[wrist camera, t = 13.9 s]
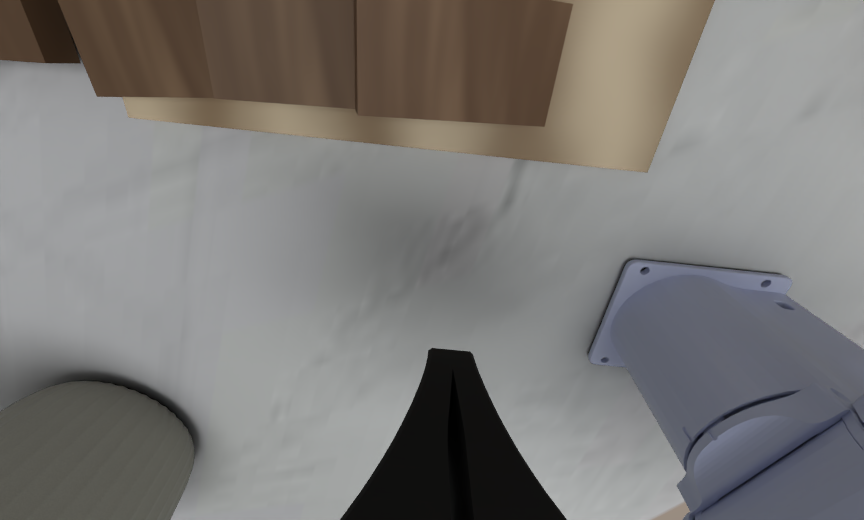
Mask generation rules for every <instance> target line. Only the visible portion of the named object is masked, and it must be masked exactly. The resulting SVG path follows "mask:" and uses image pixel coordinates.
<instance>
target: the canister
mask: <svg viewBox="0 0 864 520" xmlns="http://www.w3.org/2000/svg"><path fill="white" fill-rule="evenodd" d="M193 464H194V444H193V442H192V437H191V435H190V434H189V433H188V429H187V428H186V427H185V426H184V425H183V423H182V421H181V420H180V419H178V418H177V417H176V416H175V414H174V413H172V412H170V411H169V410H168V409H167V407H165V406H162V405H161V404H159V403H158V402H157V401H156V400H152V399H150V398H149V397H148V396H147V395H143V394H140V393H138V392H137V391H135V390H130V389H127V388H126V387H124V386H117V385H114V384H112V383H103V382H100V381H93V382H91V381H78V382H75V381H73V382H67V383H62V384H58V385H54V386H50V387H48V388H45V389H42V390H40V391H38V392H36V393H34V394H31V395H29V396H27V397H25V398H23V399H21V400H19V401H17V402H16V403H14V404H12V405H10V406H9V407H7V408H5V409H4V410H2V411H1V412H0V520H170V519H171V517H172V515H173V513H174V511H175V509H176V507H177V505H178V503H179V500H180V498H181V496H182V494H183V492H184V490H185V487H186V485H187V483H188V480H189V477H190V474H191V471H192V467H193Z"/></svg>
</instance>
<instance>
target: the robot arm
mask: <svg viewBox="0 0 864 520" xmlns="http://www.w3.org/2000/svg"><path fill="white" fill-rule="evenodd" d="M643 267H646V269H645V270H643V271H640V270H641V269H642V268H643ZM763 281H764V282H763ZM762 282H763V283H762ZM791 285H792V280H791V279H790V278H789V277H787V276H785V275H779V274H770V273H760V272H751V271H741V270H732V269H722V268H713V267H704V266H694V265H685V264H675V263H666V262H656V261H647V260H637V259H636V260H631V261H629V262H628V263H627V264H626V265H625V267H624V270H623V272H622V275H621V277H620V279H619V282H618V284H617V287H616V289H615V291H614V294H613V296H612V299H611V301H610V303H609V306H608V308H607V311H606V313H605V316H604V318H603V320H602V323H601V325H600V328H599V330H598V332H597V335H596V337H595V340H594V342H593V344H592V347H591V349H590V352H589V354H588V358H589V360H590V362H591V363H592V364H598V365H608V366H617V367H626V368H627V370H628V371H629V373H630V375H631V377H632V378H633V380H634V382H635V384H636V385H637V387H638V389H639V391H640V392H641V394H642V396H643V398H644V399H645V401H646V403H647V405H648V406H649V408H650V410H651V412H652V413H653V415H654V417H655V419H656V420H657V422H658V424H659V426H660V427H661V429H662V431H663V433H664V434H665V436H666V438H667V440H668V441H669V443H670V445H671V447H672V448H673V450H674V452H675V454H676V455H677V457H678V459H679V461H680V462H681V464H682V466H683V468H684V469H685V471H686V475H685V477H684V478H683V479H682V480H681V481H680V482H679V483H678V484H677V487H678V489H679V491H680V493H681V495H682V497H683V498H684V500H685V502H686V504H687V506H688V508H689V510H690V512H689V513H687V514H686V516H685V517H684V518H683V520H864V349H863V348H861V347H860V346H858V345H857V344H855V343H854V342H853V341H851V340H850V339H848V338H847V337H845V336H844V335H842V334H841V333H840V332H838V331H837V330H835V329H834V328H832V327H831V326H830V325H828V324H827V323H825V322H824V321H822V320H821V319H820V318H818V317H817V316H815V315H814V314H812V313H811V312H809V311H808V310H807V309H805V308H804V307H802V306H801V305H799V304H798V303H797V302H795V301H794V300H792V299H791V298H789V297H788V296H786V295H785V294H786V293H787V291H788V290H789V288H790V287H791ZM603 357H605V358H603ZM602 358H603V359H602ZM340 520H567V519H566V518H565V517H564V515H563V514H562V513H561V511H560V510H559V509H558V507H557V506H556V505H555V504H554V502H553V501H552V500H551V498H550V497H549V496H548V494H547V493H546V492H545V490H544V489H543V487H542V486H541V484H540V483H539V481H538V480H537V479H536V477H535V476H534V474H533V473H532V471H531V470H530V468H529V467H528V465H527V463H526V462H525V460H524V459H523V457H522V456H521V454H520V452H519V451H518V449H517V448H516V446H515V444H514V442H513V441H512V439H511V437H510V435H509V434H508V432H507V430H506V428H505V427H504V425H503V423H502V421H501V419H500V417H499V415H498V413H497V411H496V409H495V407H494V405H493V403H492V401H491V399H490V397H489V395H488V393H487V390H486V388H485V386H484V383H483V381H482V379H481V376H480V374H479V371H478V368H477V366H476V363H475V360H474V357H473V354H472V353H471V352H468V351H457V350H447V349H436V348H432V349H430V350H428V358H427V363H426V367H425V370H424V373H423V376H422V379H421V382H420V385H419V387H418V390H417V392H416V394H415V397H414V399H413V402H412V404H411V406H410V408H409V410H408V412H407V414H406V416H405V418H404V420H403V422H402V424H401V426H400V428H399V430H398V432H397V434H396V436H395V438H394V439H393V441H392V443H391V445H390V446H389V448H388V450H387V451H386V453H385V455H384V456H383V458H382V460H381V461H380V463H379V464H378V466H377V468H376V469H375V471H374V472H373V474H372V475H371V477H370V479H369V480H368V482H367V483H366V484H365V486H364V487H363V489H362V490H361V492H360V493H359V495H358V496H357V497H356V499H355V500H354V501H353V503H352V504H351V506H350V507H349V508H348V510H347V511H346V512H345V514H344V515H343V516H342V518H341V519H340Z"/></svg>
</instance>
